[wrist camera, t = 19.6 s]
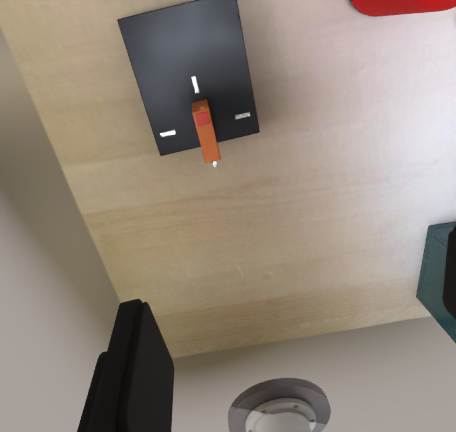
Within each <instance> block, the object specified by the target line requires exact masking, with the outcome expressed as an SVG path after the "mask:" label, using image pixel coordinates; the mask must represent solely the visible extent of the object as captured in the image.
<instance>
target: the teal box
mask: <svg viewBox="0 0 456 432" xmlns="http://www.w3.org/2000/svg"><path fill="white" fill-rule="evenodd" d="M455 226H456V222H453V223H446V224H439V225H432V226H429V227H428V233H427V239H426V244H425V250H424V256H423V261H422V267H421V273H420V279H419V284H418V290H417V296H416V297H417V298H418V300H419V301H420V302H421V303H422V304H423V305H424V306H425V308H426V309H427V310H428V311H429V312H430V314H431V315H432V316H433V317H434V318H435V319H436V320H437V322H438V323H439V324H440V325H441V326H442V328H443V329H444V330H445V331H446V332H447V334H448V335H449V336H450V337H451V338H452V339H453V341H454V342H455V343H456V320H455V318H454V317H453V316H452V315H451V314H450V313H449V312H448V311H447V309H446V308H445V306H444V304H443V300H442V296H443V286H444V275H445V265H446V254H447V244H448V235H449V233H450V232H451V231H453V228H454V227H455Z"/></svg>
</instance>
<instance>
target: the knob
mask: <svg viewBox="0 0 456 432" xmlns="http://www.w3.org/2000/svg"><path fill="white" fill-rule="evenodd" d="M192 114H193V117H194V121H195V125H196V129H197V133H198V137H199V141H200V145H201V148H202V152H203V156H204V160H205V163H209V162H213V161H217V160H221V158H220V153H219V149H218V145H217V140H216V136H215V132H214V128H213V123H212V119H211V115H210V111H209V106H208V102H207V99H205V100H200V101H196V102H193V103H192Z"/></svg>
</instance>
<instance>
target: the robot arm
mask: <svg viewBox="0 0 456 432" xmlns="http://www.w3.org/2000/svg"><path fill="white" fill-rule="evenodd" d="M442 300H443V304H444V306H445V308H446V309H447V311H448V312H449V313H450V314H451V315H452V316H453V317H454V318H455V320H456V226H455V227H454V228H453V231H451V232H450V233H449V235H448V244H447V254H446V265H445V275H444V286H443V296H442ZM173 383H174V366H173V361H172V358H171V356H170V354H169V351H168V349H167V347H166V344H165V342H164V340H163V337H162V335H161V332H160V330H159V328H158V325H157V323H156V321H155V318H154V316H153V314H152V311H151V309H150V306H149V304H148V303H147V302H144V303H142V301H141V300H140V299H136V300H131V301H127V302H123V303H121V304H120V305H119V309H118V312H117V316H116V320H115V324H114V328H113V331H112V335H111V339H110V343H109V347H108V351H107V352H102V353H101V354H100V355H99V358H98V361H97V364H96V367H95V371H94V375H93V378H92V381H91V385H90V388H89V392H88V396H87V399H86V402H85V406H84V410H83V413H82V416H81V420H80V424H79V427H78V430H77V432H171V425H172V423H171V422H172V405H173ZM315 425H316V415H315V412H314V409H313V408H312V407H311V405H309V404H308V403H307V402H305V401H302V400H300V399H295V398H279V399H274V400H270V401H267V402H265V403H263V404H261V405H259V406H258V407H256V408H255V409H254V410H253V411H251V413H250V414H249V415H248V417H247V419H246V422H245V429H246V432H312V430H313V429H314V427H315Z"/></svg>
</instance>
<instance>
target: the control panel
mask: <svg viewBox="0 0 456 432" xmlns="http://www.w3.org/2000/svg"><path fill="white" fill-rule="evenodd" d="M117 21H118V24H119V27H120V30H121V33H122V36H123V40H124V43H125V46H126V49H127V52H128V55H129V58H130V62H131V65H132V68H133V71H134V74H135V77H136V80H137V84H138V87H139V90H140V93H141V96H142V99H143V102H144V106H145V109H146V112H147V115H148V118H149V121H150V124H151V128H152V131H153V134H154V137H155V140H156V143H157V146H158V149H159V153H160V156H163V155H167V154H171V153H175V152H180V151H184V150H188V149H192V148H196V147H201V145H200V141H199V137H198V133H197V129H196V125H195V121H194V117H193V114H192V103H193V102H196V101H200V100H205V99H207V102H208V106H209V111H210V115H211V119H212V123H213V128H214V132H215V136H216V140H217V142H222V141H226V140H230V139H234V138H238V137H242V136H247V135H251V134H255V133H259V132H260V131H259V125H258V119H257V113H256V108H255V102H254V96H253V90H252V85H251V79H250V73H249V67H248V62H247V56H246V50H245V44H244V39H243V33H242V27H241V21H240V16H239V10H238V4H237V0H195V1H191V2H187V3H183V4H179V5H175V6H171V7H166V8H162V9H158V10H154V11H150V12H146V13H142V14H138V15H134V16H130V17H126V18H122V19H118V20H117ZM213 166H214V167H217V163H216V161H213Z"/></svg>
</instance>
